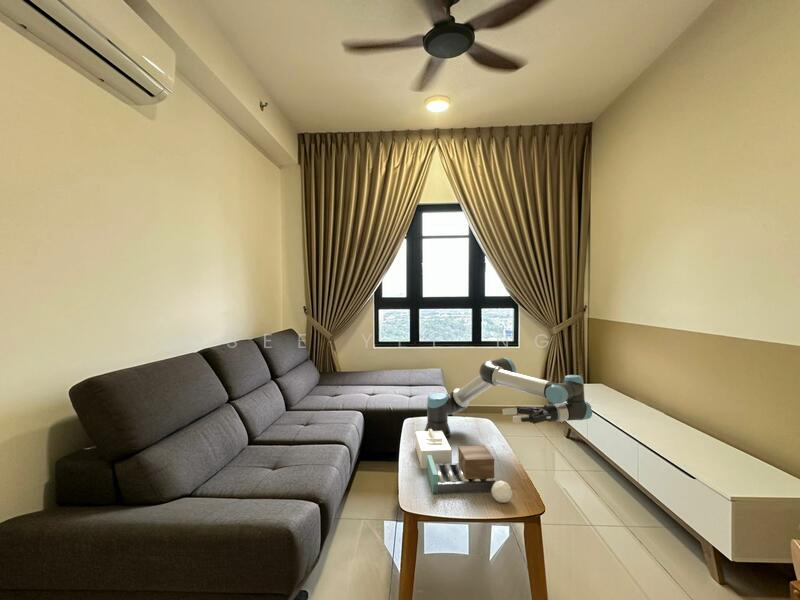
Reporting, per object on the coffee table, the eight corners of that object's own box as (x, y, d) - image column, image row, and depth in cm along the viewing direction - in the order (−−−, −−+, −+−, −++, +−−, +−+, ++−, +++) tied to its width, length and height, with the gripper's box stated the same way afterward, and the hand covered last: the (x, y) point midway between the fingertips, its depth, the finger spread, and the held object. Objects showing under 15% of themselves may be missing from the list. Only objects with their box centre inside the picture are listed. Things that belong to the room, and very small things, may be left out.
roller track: (427, 472, 167) (427, 462, 167) (487, 470, 169) (487, 460, 169) (433, 494, 149) (433, 483, 149) (500, 491, 150) (500, 480, 150)
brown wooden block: (458, 463, 166) (458, 446, 166) (484, 463, 166) (484, 445, 166) (465, 479, 152) (465, 459, 152) (494, 478, 152) (494, 458, 152)
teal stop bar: (427, 472, 167) (427, 455, 167) (431, 472, 167) (431, 454, 167) (433, 494, 149) (433, 474, 149) (438, 494, 149) (438, 474, 149)
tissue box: (421, 469, 171) (421, 445, 171) (415, 447, 196) (415, 427, 196) (451, 468, 172) (451, 445, 172) (442, 446, 197) (442, 426, 197)
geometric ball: (496, 507, 144) (485, 486, 148) (513, 497, 146) (502, 477, 149) (500, 507, 137) (489, 485, 141) (518, 497, 139) (507, 476, 143)
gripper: (569, 429, 150) (518, 432, 149) (543, 414, 175) (499, 416, 174) (568, 410, 150) (517, 414, 149) (542, 398, 175) (498, 400, 174)
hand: (507, 415), depth 162 cm, fingers open, 13 cm apart
